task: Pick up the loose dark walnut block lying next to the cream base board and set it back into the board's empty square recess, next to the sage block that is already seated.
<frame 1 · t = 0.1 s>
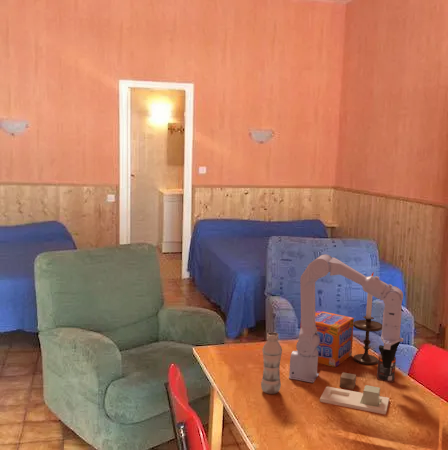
hand: (388, 363, 184), 10 cm above the table, fingers open, 7 cm apart
candlestick: (365, 360, 214), on the table
supplement bottle: (385, 380, 196), on the table
base board: (354, 405, 175), on the table
game box: (325, 357, 216), on the table
sage block: (370, 404, 173), point 1 cm above the table, touching base board
plastic bottle: (270, 392, 183), on the table
walnut block: (347, 390, 187), on the table
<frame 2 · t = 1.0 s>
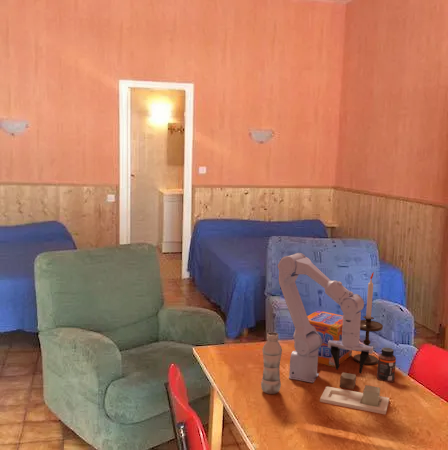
hand: (348, 370, 186), 7 cm above the table, fingers open, 7 cm apart
nothing on the table moved.
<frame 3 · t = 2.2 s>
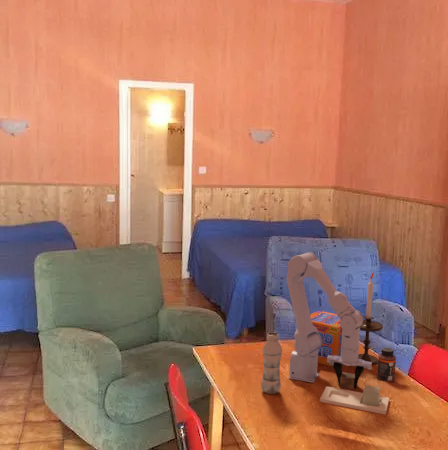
hand: (347, 385, 187), 1 cm above the table, fingers closed on walnut block, 4 cm apart
walnut block: (347, 389, 187), on the table, touching gripper
everything else where it was.
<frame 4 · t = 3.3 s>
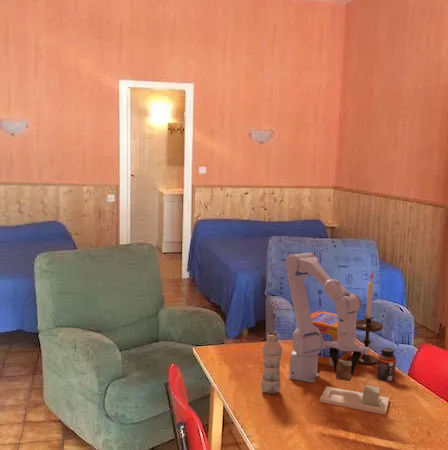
hand: (344, 372, 180), 8 cm above the table, fingers closed on walnut block, 4 cm apart
walnut block: (344, 377, 180), point 7 cm above the table, touching gripper
everything else where it was.
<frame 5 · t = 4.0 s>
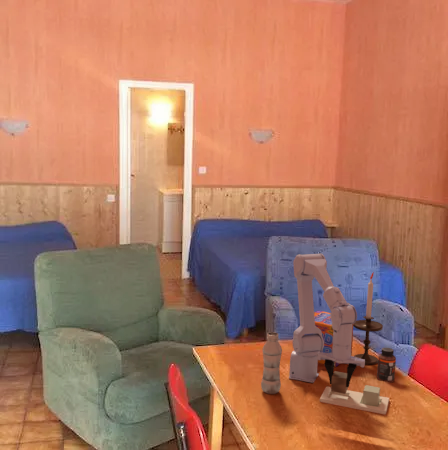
hand: (339, 384, 176), 6 cm above the table, fingers closed on walnut block, 4 cm apart
walnut block: (339, 389, 177), point 4 cm above the table, touching gripper
everything else where it was.
when the fingers open (5 cm above the table, at t = 4.7 s): walnut block drops 1 cm, resting on base board.
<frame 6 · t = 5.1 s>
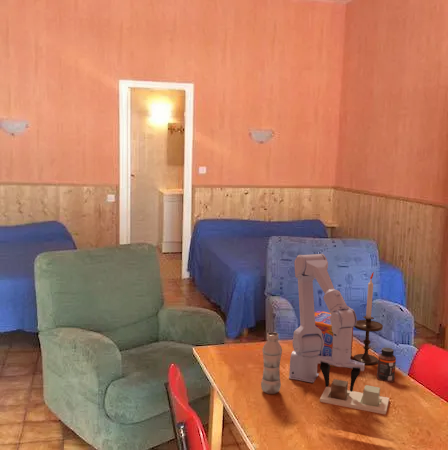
hand: (339, 388, 176), 5 cm above the table, fingers open, 7 cm apart
walnut block: (338, 397, 177), point 1 cm above the table, touching base board
everything else where it was.
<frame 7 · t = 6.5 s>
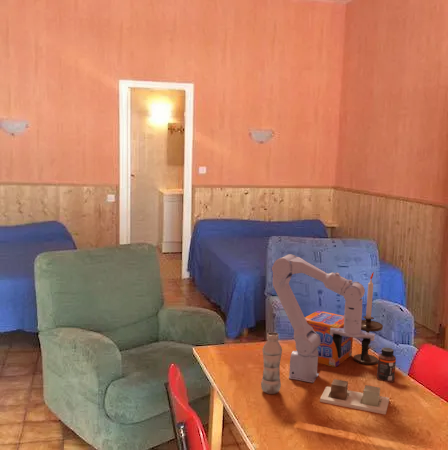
hand: (350, 357, 188), 10 cm above the table, fingers open, 7 cm apart
nothing on the table moved.
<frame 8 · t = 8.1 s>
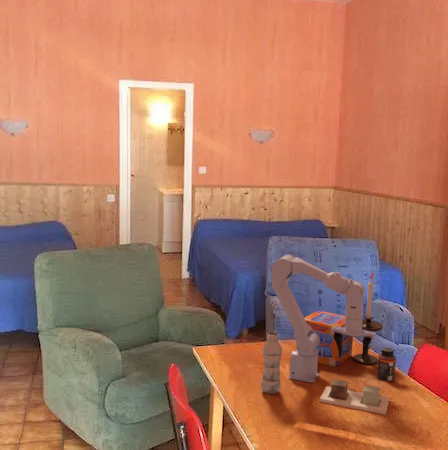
hand: (351, 356, 189), 10 cm above the table, fingers open, 7 cm apart
nothing on the table moved.
at the end: walnut block 0.3 cm from the target spot on the base board, point 1.5 cm above the base board's base; walnut block tilted 0°; the gripper is holding nothing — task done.
